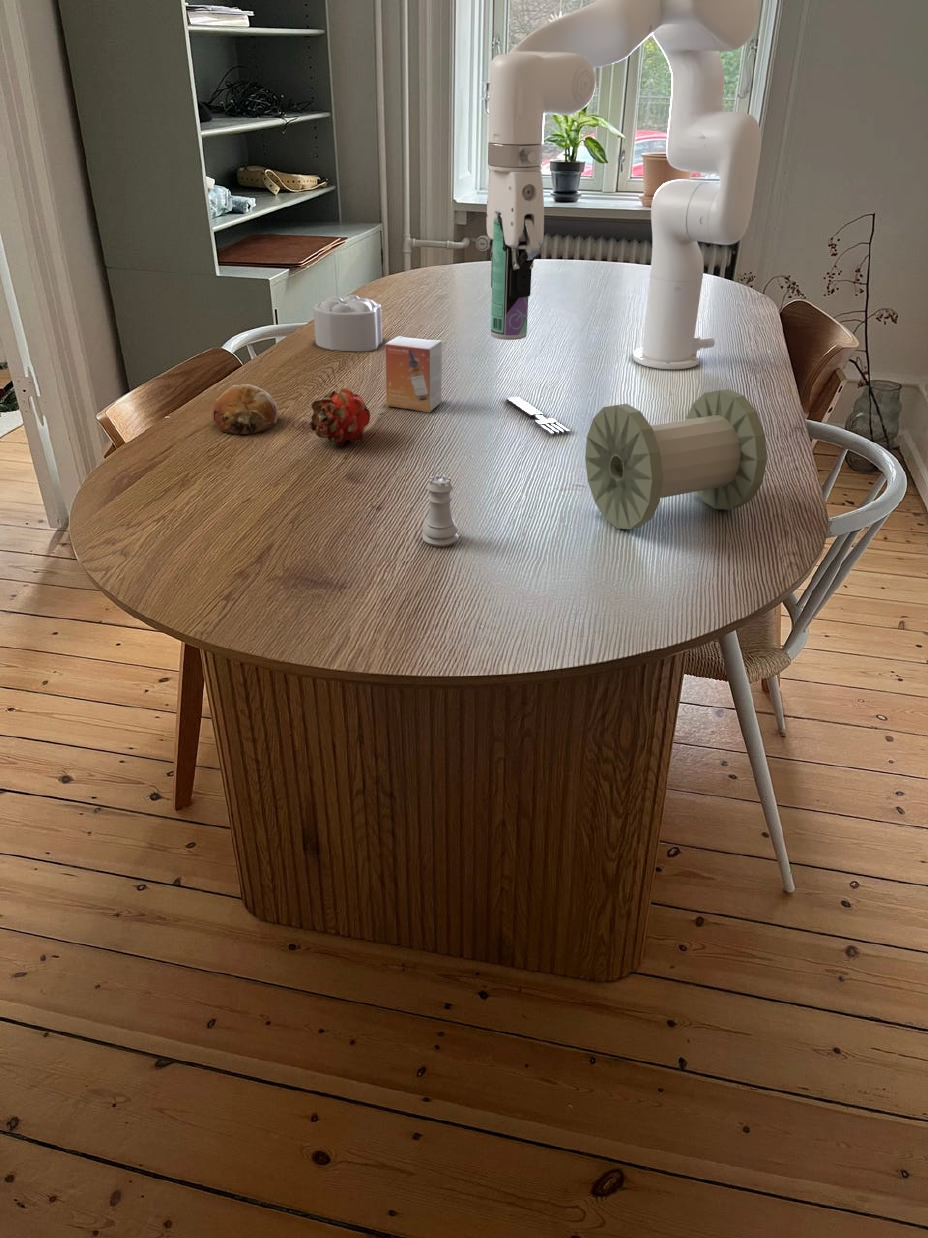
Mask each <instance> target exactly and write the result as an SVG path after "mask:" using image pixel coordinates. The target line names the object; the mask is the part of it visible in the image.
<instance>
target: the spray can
mask: <svg viewBox="0 0 928 1238" xmlns="http://www.w3.org/2000/svg"><path fill="white" fill-rule="evenodd" d="M500 215H501V212H497V211H495V215H494V224H493V260H492V261H493V265H492V264H491V269H492V288H491V308H490V309H491V311H490V313H491V314H490V317H491V318H490V337H492V338H494V339H497V340H503V341H516V340H522V339H525V338H526V337H527V336H528V335H527V334H528V315H529V314H528V313H529V297H521V298H511V297H510V296H509V288H510V269H513V263H512V253H511V247H509V246H507V245H506V244H505V239H504V233H503V224H502V218H501V217H500ZM518 245H526V241H521V242H519V244H518ZM522 252H525V251H518V254H519V257H520V255H521V253H522Z"/></svg>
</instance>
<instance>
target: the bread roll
mask: <svg viewBox="0 0 928 1238" xmlns="http://www.w3.org/2000/svg"><path fill="white" fill-rule="evenodd" d="M278 410H279V408H278V405H277V403H276V401H275V399H274V398H273V396H272V395H271V394H269V393H268V392H267V391H266V390H265V389H262V388H260V387H259V386H257V385H253V384H249V383H243V384H232V385H231V386H230V387H229V388H227V389H226V390H224V391H223V392H222V393H221V395H220V396H219V397H218V398H216V399H215V402H214V404H213V407H212V414H213V422H214V425H215V426H216V428H217V429H218V430H219V431H221V432H223V433H227V434H234V435H250V434H256V433H260V432H264V431H266V430H271V428H272V427H273V426H274V425H275V424H276V423H277V418H278Z"/></svg>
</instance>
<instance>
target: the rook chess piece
mask: <svg viewBox="0 0 928 1238" xmlns="http://www.w3.org/2000/svg"><path fill="white" fill-rule="evenodd" d="M428 481H429V482H428V483H427V484H426V485H425V487H426V489H427V490H428V492H429V496H428V497H427V498H428V501H429V511H428V516H427V517H428V518H427V519H426V521H425V523H424V524H423V526H422V536H421V538H422V541H424V543H426V544H427V545H428V546H431V547H435V548H446V547H450V546H453V545H454V544H455V543H456V542H457V541H458V540H459V534H458V532H459V528H458V525H457V524H456V522H455V520H454V518H453V515H452V508H451V502H452V500H453V498H452V495H451V492H452V491H453V490H454V488H455V486H454V484H453V483H452V479H451V477H450V476H449V477H448V475H445V474H443V475H442V478H440V474H435V477H434V476H430V477H429V480H428Z"/></svg>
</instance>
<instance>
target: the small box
mask: <svg viewBox="0 0 928 1238" xmlns="http://www.w3.org/2000/svg"><path fill="white" fill-rule="evenodd" d="M384 362H385V364H384V365H385V367H384V368H385V405H386V407H393V408H400V409H406V410H413V411H419V412H422V413H423V412H424V413H431V412H432V411H433V410H434V409H436V408H437V407H438V406H439V405H440V404H441V403H443V402H442V398H443V397H442V396H443V395H442V393H443V389H442V388H443V386H442V385H443V341H442V340H438V339H437V340H435V339H426V338H425V339H424V338H414V337H405V336H401V335H398V336H396V337H394V338H393V339H391V340H389V341H388V342H386V343H385V345H384Z"/></svg>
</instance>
